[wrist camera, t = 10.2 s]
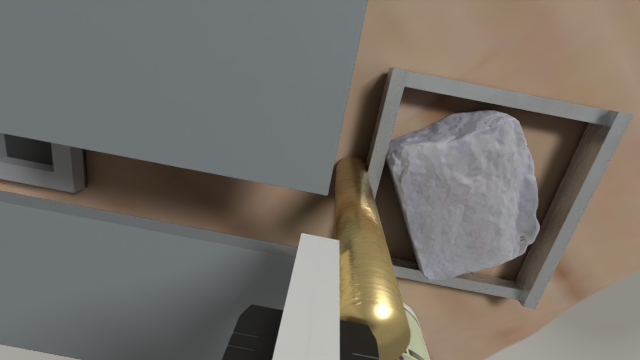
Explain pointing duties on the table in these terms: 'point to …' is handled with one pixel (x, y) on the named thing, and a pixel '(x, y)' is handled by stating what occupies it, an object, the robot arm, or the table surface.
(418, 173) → the stone block
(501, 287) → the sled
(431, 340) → the table surface
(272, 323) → the robot arm
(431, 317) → the table surface
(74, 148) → the pit board
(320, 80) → the gray split-top stand
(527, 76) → the table surface
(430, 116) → the table surface
